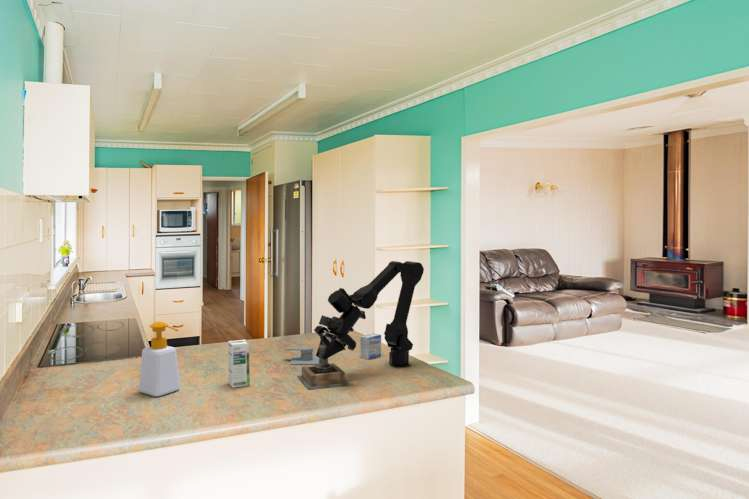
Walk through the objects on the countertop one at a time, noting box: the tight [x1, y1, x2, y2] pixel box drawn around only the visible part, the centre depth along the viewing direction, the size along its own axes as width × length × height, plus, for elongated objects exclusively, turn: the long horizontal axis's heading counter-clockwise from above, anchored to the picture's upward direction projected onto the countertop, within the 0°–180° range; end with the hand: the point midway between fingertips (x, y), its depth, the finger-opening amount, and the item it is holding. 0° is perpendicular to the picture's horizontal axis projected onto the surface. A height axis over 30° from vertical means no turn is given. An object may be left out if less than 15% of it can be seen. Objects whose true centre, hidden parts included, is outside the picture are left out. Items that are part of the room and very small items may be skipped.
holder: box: [297, 362, 350, 390], centre depth 186 cm, size 14×14×4 cm
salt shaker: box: [315, 341, 332, 374], centre depth 185 cm, size 6×6×12 cm
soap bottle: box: [138, 321, 181, 397], centre depth 171 cm, size 10×14×22 cm
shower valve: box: [284, 346, 319, 366], centre depth 211 cm, size 12×6×15 cm
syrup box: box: [227, 339, 251, 389], centre depth 180 cm, size 6×6×14 cm
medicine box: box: [359, 332, 382, 360], centre depth 217 cm, size 8×4×9 cm, turn 139°
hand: (320, 357), depth 185 cm, fingers closed on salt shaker, 4 cm apart
